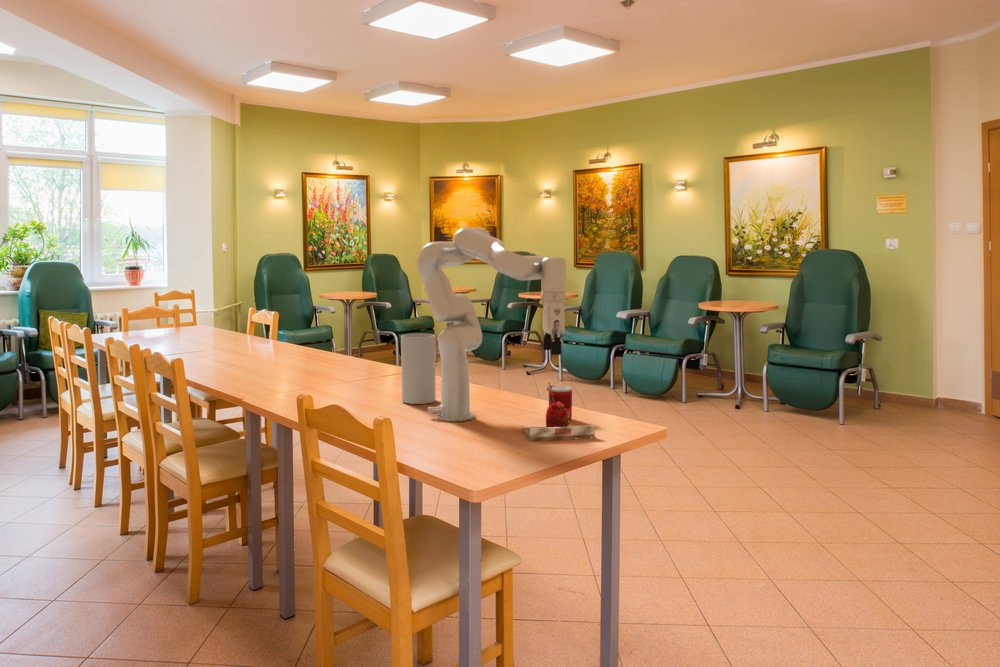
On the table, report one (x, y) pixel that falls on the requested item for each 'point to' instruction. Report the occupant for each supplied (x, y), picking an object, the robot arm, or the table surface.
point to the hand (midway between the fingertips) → (552, 352)
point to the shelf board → (559, 432)
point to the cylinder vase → (418, 368)
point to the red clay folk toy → (556, 414)
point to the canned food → (562, 398)
